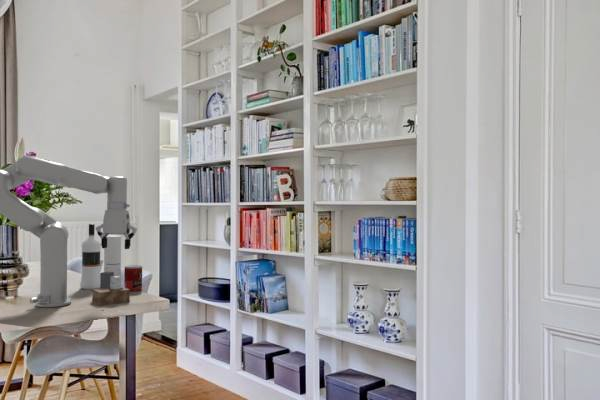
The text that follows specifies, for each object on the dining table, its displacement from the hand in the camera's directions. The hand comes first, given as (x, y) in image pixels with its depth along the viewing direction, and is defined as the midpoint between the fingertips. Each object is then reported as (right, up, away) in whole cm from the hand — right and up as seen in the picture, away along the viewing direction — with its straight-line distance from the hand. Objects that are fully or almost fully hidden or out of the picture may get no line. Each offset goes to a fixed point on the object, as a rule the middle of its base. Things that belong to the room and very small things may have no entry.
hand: (115, 248), depth 216 cm
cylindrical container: (-9, -22, +22) cm, 33 cm away
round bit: (0, -22, 0) cm, 22 cm away
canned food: (-1, -22, +27) cm, 35 cm away
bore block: (-2, -22, -1) cm, 22 cm away
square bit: (-8, -22, +12) cm, 26 cm away
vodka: (-22, -22, +31) cm, 44 cm away
